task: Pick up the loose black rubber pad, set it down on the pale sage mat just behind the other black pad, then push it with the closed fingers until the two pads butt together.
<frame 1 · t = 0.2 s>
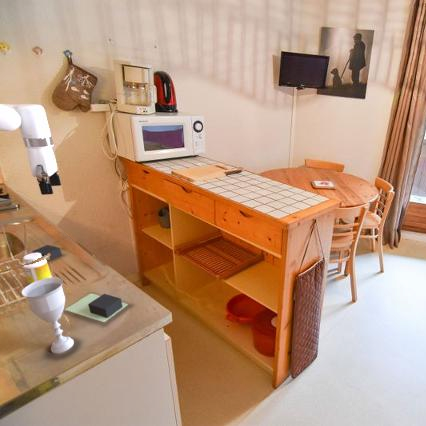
hand: (51, 189, 114), 21 cm above the countertop, tool pointing down, fingers open, 9 cm apart
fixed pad: (106, 309, 89), point 1 cm above the countertop, touching mat
supplement bottle: (41, 284, 99), on the countertop
loose pad: (48, 256, 113), on the countertop
chalice: (63, 348, 77), on the countertop
mat: (97, 308, 90), on the countertop
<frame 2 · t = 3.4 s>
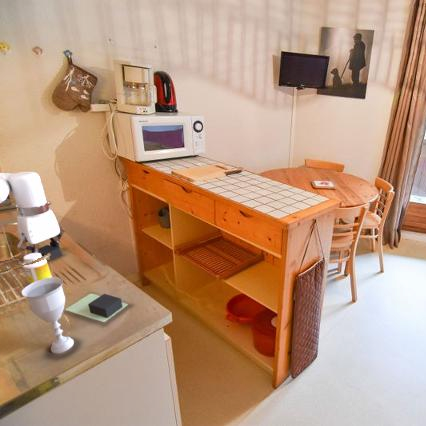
hand: (48, 255, 112), 0 cm above the countertop, tool pointing down, fingers closed on loose pad, 5 cm apart
loose pad: (48, 256, 113), on the countertop, touching gripper
everything else where it was.
when the fingers open (1 cm above the countertop, at t = 13.7 s): loose pad stays where it is, resting on mat.
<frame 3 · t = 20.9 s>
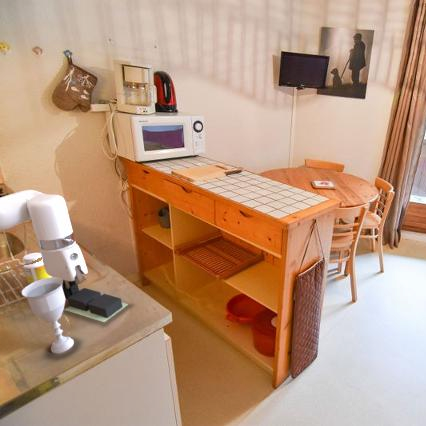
hand: (72, 296, 92), 2 cm above the countertop, tool pointing down, fingers closed
loose pad: (86, 303, 91), point 1 cm above the countertop, touching gripper, mat
everything else where it was.
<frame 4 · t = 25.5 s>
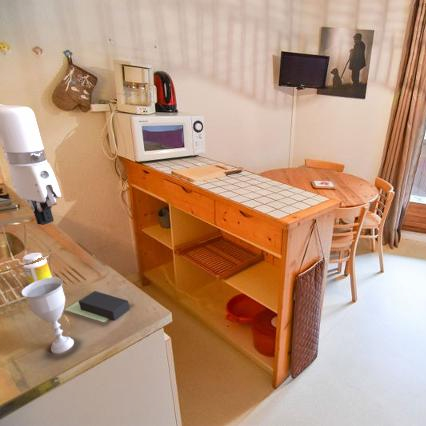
hand: (45, 222, 87), 23 cm above the countertop, tool pointing down, fingers closed
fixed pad: (113, 312, 89), point 1 cm above the countertop, touching loose pad, mat
loose pad: (97, 306, 90), point 1 cm above the countertop, touching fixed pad, mat
everything else where it was.
at the end: loose pad touching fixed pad, mat; loose pad inside the target area on the mat (0.0 cm from its centre), point 0.6 cm above the mat's base; loose pad 6.0 cm from the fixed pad (horizontally) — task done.
